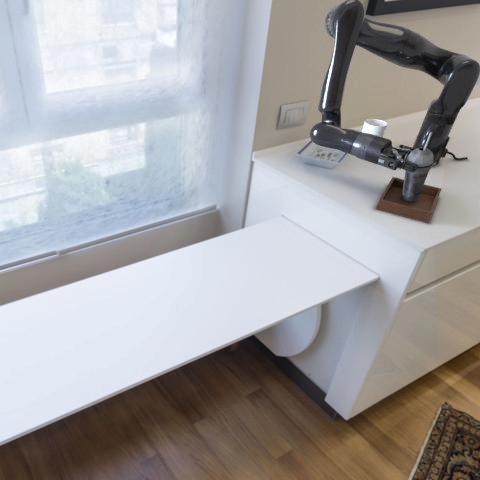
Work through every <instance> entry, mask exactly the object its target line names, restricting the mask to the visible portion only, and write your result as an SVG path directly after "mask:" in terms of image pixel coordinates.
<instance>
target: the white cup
mask: <svg viewBox="0 0 480 480" xmlns="http://www.w3.org/2000/svg"><path fill="white" fill-rule="evenodd" d="M388 125H389V124H388V122H386V121H384V120H383V119H382V120H381V119H377V118H367V119H366V120H364V122H363V125H362V128H361V129H362V130H361V132H363V133H369V134H373V135H376V136H380V137H383V138H384V135H385V131H386V130H387V127H388Z"/></svg>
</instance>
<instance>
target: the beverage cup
mask: <svg viewBox="0 0 480 480" xmlns="http://www.w3.org/2000/svg"><path fill="white" fill-rule="evenodd" d="M431 134H432V132H430V134H429V137H428V139H427V142H426V144H425V147H424V148H423V147H421V148H417V149H415V150H413V151H412V152H411V153H410V154H409V155H408V157H407V159H406V161H408V162H411V163H414V164H417V165H418V167H417V169H416V171H415V172H410V171H407V170H404V177H403V178H404V184H403V192H402V199H403V200H405V201H409V202H412V201H416V200H418V198H419V195H420V193H421V191H422V188H423V186H424V184H425V183H426V180H427V178H428V174H429V173H430V171H431V169H432V167H433V166H432V165H433V153H432V152H431V151H430V150H429V149H427V148H426V147H427V145H428V142H429V139H430V137H431Z"/></svg>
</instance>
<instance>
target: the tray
mask: <svg viewBox="0 0 480 480" xmlns="http://www.w3.org/2000/svg"><path fill="white" fill-rule="evenodd" d="M403 184H404V179H403V178H399V177H395V176H392V177H391V179H390V180H389V183H388V184H387V186H386V187H385V189H384V191H383V193H382V195H380V198H379V199H378V202H377V204H376V207H375V209H376V210H378V211H382V212H386V213H390V214H392V215H393V214H394V215H396V216H397V215H398V216H401V217H405V218H408V219H412V220H415V221H419V222H423V223H427V224H428V223H429V222H430V219H431V218H432V215H433V213H434V211H435V207H436V205H437V203H438V200H439V198H440V195H441V193H442V188H441V187H437V186H431V185H428V184H425V183H424V186H423V188H422V191H421V193H420V195H419V198H418V200H416V201H412V202H409V201H405V200H403V199H402V192H403Z"/></svg>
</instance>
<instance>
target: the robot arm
mask: <svg viewBox="0 0 480 480" xmlns="http://www.w3.org/2000/svg"><path fill="white" fill-rule="evenodd" d="M323 25H324V29H325V32H326V33H327V35H328V36H329V37H331V38H332V39H334V45H333V50H332V53H331V57H330V61H329V64H328V67H327V69H326V72H325V75H324V77H323V81H322V83H321V88H320V92H319V93H320V94H319V100H318V112H319V113H320V114H321V121H319V122H317V123H315V124H314V125H312V126H311V129H310V131H309V138H310V140H311V142H312V143H313V144H314V145H317V146H320V147H323V148H328V149H332V150H337V151H340V152H342V153H345V154H348V155H351V156H353V157H355V158H357V159H360V160H362V161H366V162H370V163H372V164H374V165H379V166H381V167H384V168H387V169H389V170H392V171H397V170H404V171H405V170H407V171H410V172H415V171H416V169H417V167H418V165H417V164H414V163H411V162H408V161H406V159H407V157H408V155H409V154H410V153H411V152H412V151H413V150H415V149H417V148H421V147H423V148H424V147H425V144H426V142H427V139H428V137H429V134H430V132H432V134H431V137H430V139H429V142H428V145H427V147H426V148H427V149H429V150H430V151H431V152H432V153H433V165H432V167H434V166H436V165H439V163H440V161H441V159H444V158H446V156H447V155H449V156H451V157H452V159H454V161H463V160H468V158H469V157H468V156H465V157H456V155H455V154H454V153H453V152H451V151H449V149H448V148H447V146H448V143H449V142H450V139H451V137H450V134H451V131H452V129H453V126H454V125H455V122H456V120H457V117H458V116H459V113H460V111H461V109H462V108H463V107H464V106H465V105H466V104H467V102H468V100H469V99H470V96H471V94H472V92H473V91H474V88H475V86H476V85H477V82H478V80H479V77H480V62H479V61H477V60H476V59H474V58H472V57H470V56H468V55H466V54H463V53H459V52H455V51H451V50H448V49H445V48H443V47H440V46H438V45H436V44H435V43H434V42H432V41H431V40H430V39H428V38H427V37H426V36H424V35H422V34H420V33H418V32H417V31H415V30H412V29H410V28H409V27H405V26H403V25H399V24H394V23H390V22H389V23H388V22H381V21H376V20H373V19H371V18H368V17H366V9H365V5H364V3H362V1H361V0H343V1H341V2H340V3H338V4H336V5H334V6H333V7H332V8H331V9H330V10H328V12H327V14H326V16H325V18H324V24H323ZM356 46H357V47H360V48H362V49H364V50H365V51H368V52H369V53H371V54H373V55H375V56H378V57H379V58H382V59H383V60H386V62H389V63H392V64H393V65H396V66H399V67H402V68H403V69H409V70H415V71H420V72H423V73H424V74H427V76H430V77H431V78H433V79H435V80H436V81H438V82H439V83H440V84H441V85H443V87H442V90H441V92H440V94H439V96H438V97H437V98H434V99H432V100H431V101H430V103H429V106H428V109H427V111H426V112H425V116H424V118H423V121H422V123H421V126H420V127H419V130H418V134H417V136H416V139H415V140H414V143H413V146H409V145H404V144H399V145H398V146H396V147H395V146H393V141H392V140H391V139H390V138H386V137H384V136H383V137H380V136H376V135H373V134H369V133H363V132H362V131H359V130H356V129H353V128H345V127H344V128H343V127H342V104H343V100H344V99H343V98H344V93H345V89H346V84H347V78H348V74H349V69H350V67H351V66H350V65H351V63H352V60H353V56H354V52H355V49H356Z"/></svg>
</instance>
